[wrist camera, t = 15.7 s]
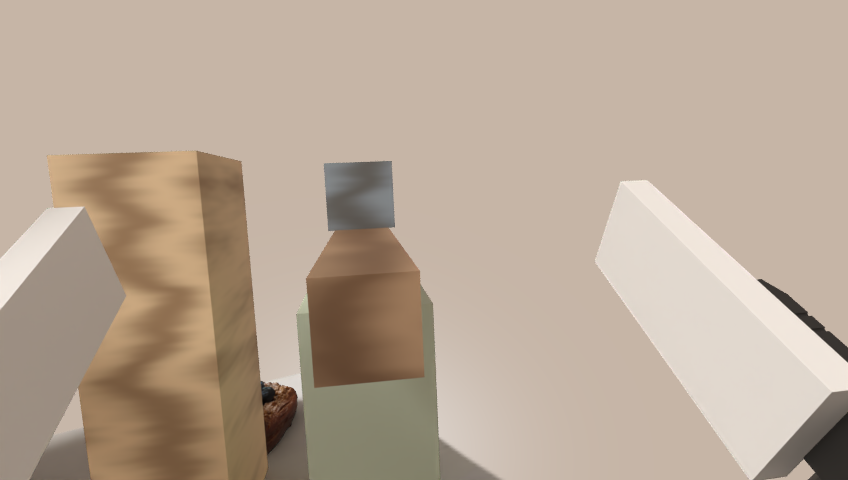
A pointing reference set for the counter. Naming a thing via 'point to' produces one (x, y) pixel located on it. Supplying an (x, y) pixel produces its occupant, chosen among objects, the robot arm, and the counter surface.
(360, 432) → the sage green upright block
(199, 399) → the oak stand
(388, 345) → the beam
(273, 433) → the pastry
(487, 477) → the counter surface
